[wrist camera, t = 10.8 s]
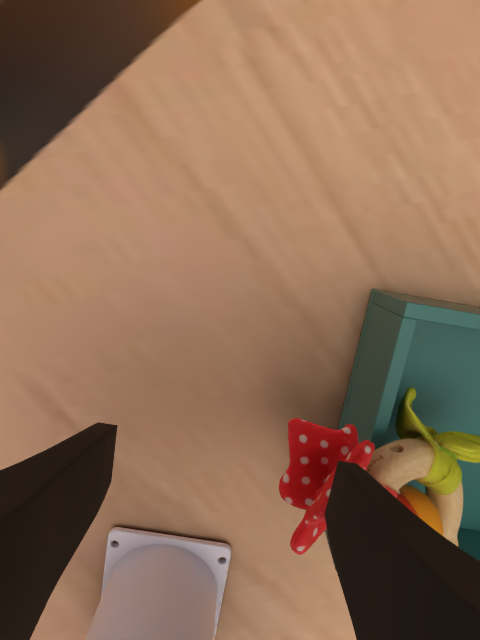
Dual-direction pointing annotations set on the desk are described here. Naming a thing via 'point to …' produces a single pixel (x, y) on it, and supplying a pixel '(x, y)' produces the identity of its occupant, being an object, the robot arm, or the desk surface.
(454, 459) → the bird rattle
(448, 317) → the open box
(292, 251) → the desk surface
